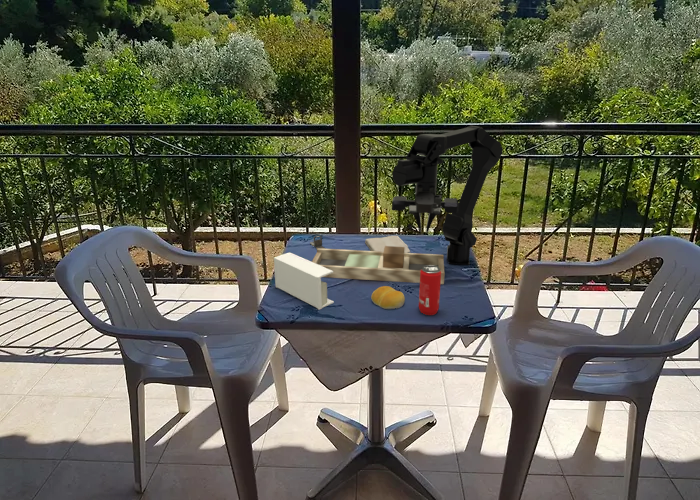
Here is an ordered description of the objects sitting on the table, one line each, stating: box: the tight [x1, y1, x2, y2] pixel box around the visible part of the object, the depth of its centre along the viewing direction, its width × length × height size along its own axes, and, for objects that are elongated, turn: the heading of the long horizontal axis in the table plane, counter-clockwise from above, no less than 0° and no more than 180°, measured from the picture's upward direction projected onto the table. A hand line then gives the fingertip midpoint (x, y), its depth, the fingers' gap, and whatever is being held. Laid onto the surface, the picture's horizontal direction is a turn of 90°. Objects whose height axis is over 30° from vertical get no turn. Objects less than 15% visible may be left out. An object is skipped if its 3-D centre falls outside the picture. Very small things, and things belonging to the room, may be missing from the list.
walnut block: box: [383, 246, 405, 268], centre depth 154 cm, size 6×6×4 cm
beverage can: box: [418, 265, 442, 316], centre depth 130 cm, size 5×5×12 cm
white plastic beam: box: [273, 252, 335, 310], centre depth 140 cm, size 20×6×9 cm, turn 44°
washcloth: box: [364, 235, 411, 253], centre depth 171 cm, size 12×18×3 cm, turn 13°
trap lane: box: [311, 248, 446, 285], centre depth 155 cm, size 40×14×4 cm, turn 81°
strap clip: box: [309, 235, 327, 250], centre depth 174 cm, size 8×3×4 cm, turn 27°
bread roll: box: [370, 285, 406, 310], centre depth 136 cm, size 8×9×4 cm
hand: (423, 232), depth 149 cm, fingers closed
